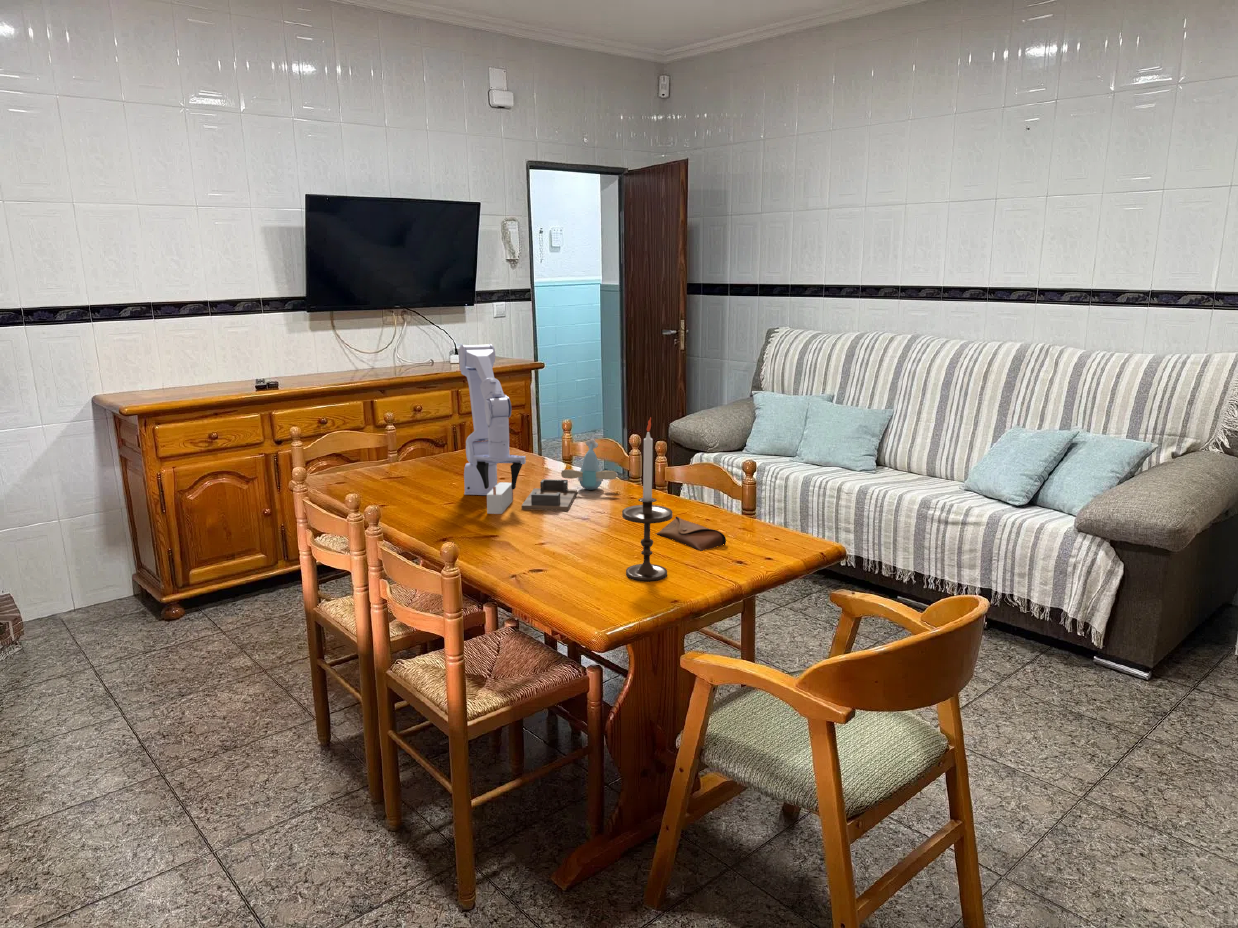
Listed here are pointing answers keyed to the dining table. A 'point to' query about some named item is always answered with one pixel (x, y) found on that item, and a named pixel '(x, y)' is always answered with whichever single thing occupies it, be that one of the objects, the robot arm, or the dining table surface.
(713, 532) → the sunglasses case
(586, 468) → the toy figure
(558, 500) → the cradle jig
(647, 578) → the candlestick
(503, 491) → the white rectangular block
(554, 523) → the dining table surface
